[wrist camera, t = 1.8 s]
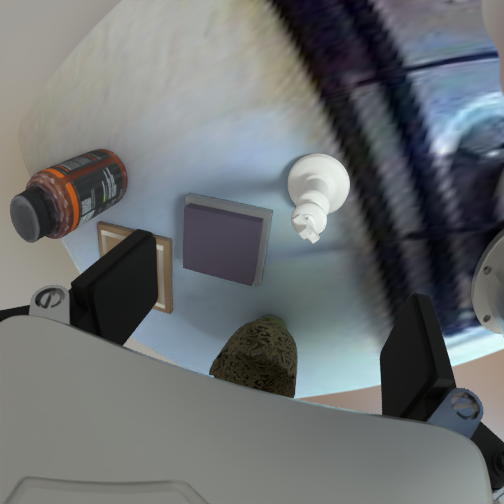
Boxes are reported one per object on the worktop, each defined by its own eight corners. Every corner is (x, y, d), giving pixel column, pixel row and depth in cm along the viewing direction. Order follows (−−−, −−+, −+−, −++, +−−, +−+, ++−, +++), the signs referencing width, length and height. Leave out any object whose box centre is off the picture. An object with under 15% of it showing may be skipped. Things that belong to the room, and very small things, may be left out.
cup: (268, 361, 35) (249, 417, 28) (222, 317, 34) (192, 371, 27) (322, 335, 31) (312, 396, 24) (275, 284, 30) (253, 341, 23)
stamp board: (171, 239, 31) (168, 242, 30) (172, 310, 35) (169, 314, 35) (100, 221, 32) (96, 223, 32) (108, 288, 37) (105, 291, 36)
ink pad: (272, 210, 27) (267, 218, 25) (261, 280, 30) (256, 291, 28) (189, 193, 28) (179, 200, 26) (187, 261, 31) (178, 271, 30)
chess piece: (322, 140, 23) (311, 166, 15) (362, 190, 24) (372, 244, 15) (275, 179, 26) (238, 225, 17) (314, 224, 26) (298, 291, 18)
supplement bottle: (79, 159, 30) (-5, 194, 20) (118, 139, 27) (26, 170, 18) (98, 210, 32) (21, 258, 22) (138, 196, 30) (56, 247, 20)
